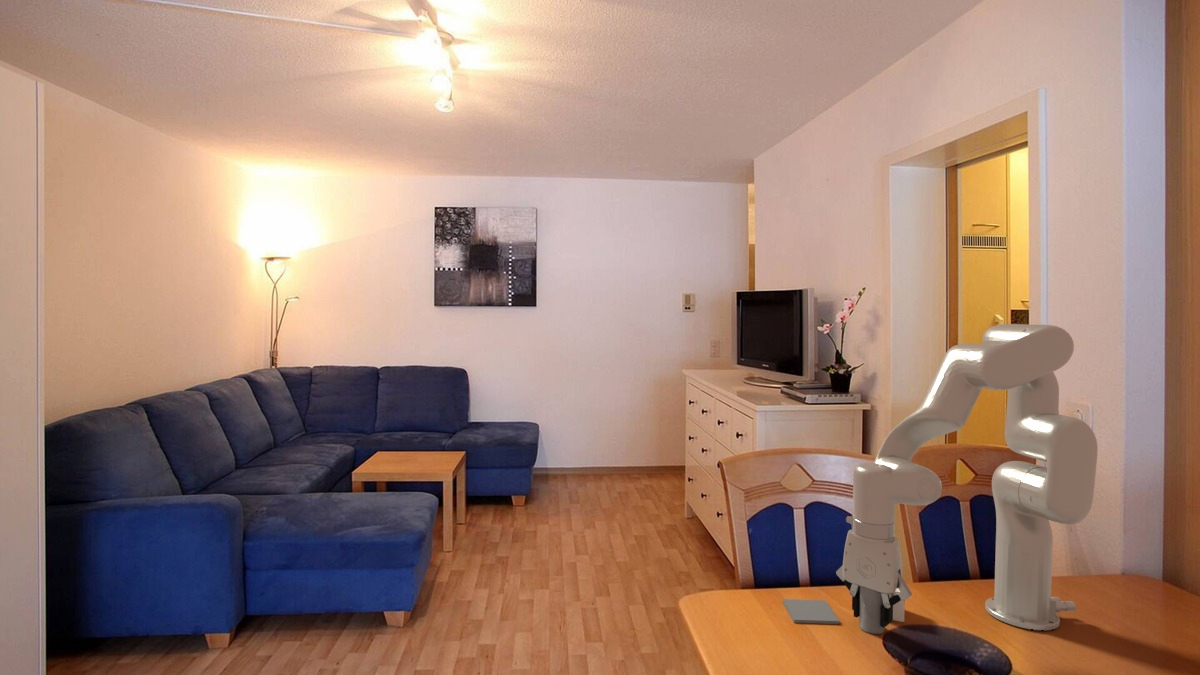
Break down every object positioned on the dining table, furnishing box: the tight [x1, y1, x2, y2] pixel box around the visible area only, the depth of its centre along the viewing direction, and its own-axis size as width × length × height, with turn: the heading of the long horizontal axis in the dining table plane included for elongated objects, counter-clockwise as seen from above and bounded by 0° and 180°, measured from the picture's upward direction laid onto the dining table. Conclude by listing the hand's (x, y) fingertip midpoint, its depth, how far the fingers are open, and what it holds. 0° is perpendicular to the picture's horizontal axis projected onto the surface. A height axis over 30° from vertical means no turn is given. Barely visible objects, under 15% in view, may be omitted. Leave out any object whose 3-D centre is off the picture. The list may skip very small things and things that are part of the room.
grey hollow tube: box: [858, 586, 885, 635], centre depth 120 cm, size 4×4×10 cm
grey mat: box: [782, 598, 841, 625], centre depth 127 cm, size 9×9×1 cm
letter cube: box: [892, 588, 906, 623], centre depth 127 cm, size 6×6×6 cm
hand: (871, 618), depth 121 cm, fingers closed on grey hollow tube, 4 cm apart
